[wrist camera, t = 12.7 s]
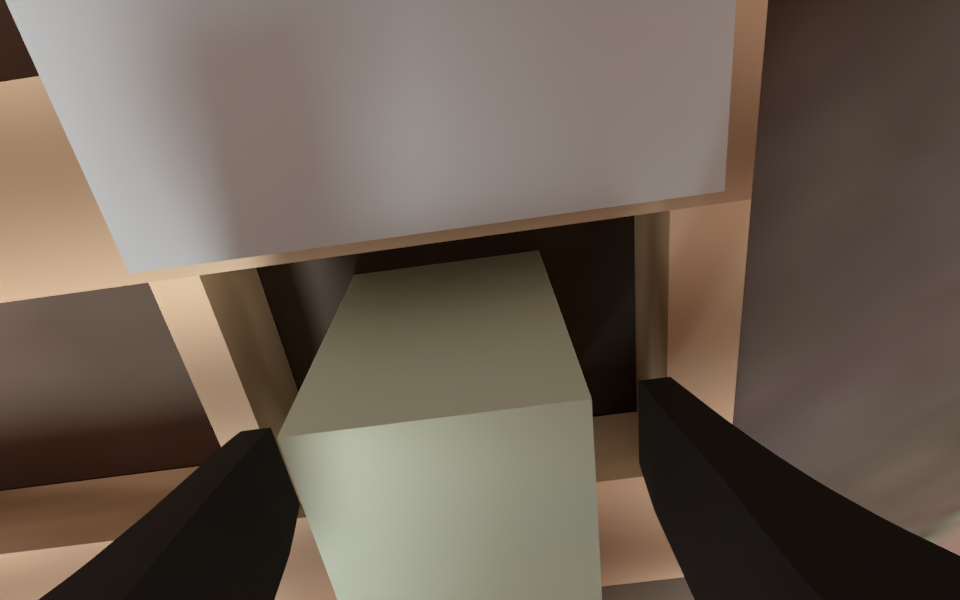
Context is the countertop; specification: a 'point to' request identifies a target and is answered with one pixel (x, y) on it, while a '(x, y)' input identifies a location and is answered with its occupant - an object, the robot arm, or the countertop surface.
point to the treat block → (449, 439)
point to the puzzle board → (263, 363)
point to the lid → (376, 114)
